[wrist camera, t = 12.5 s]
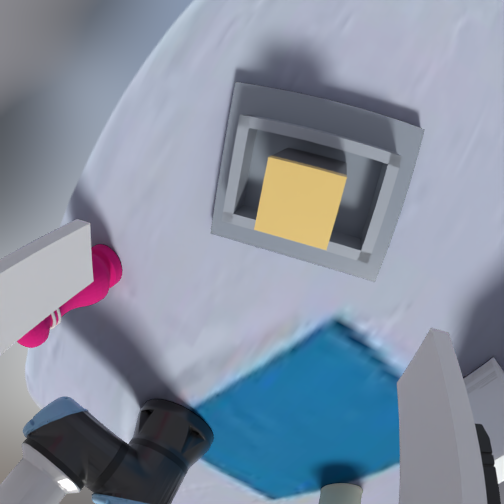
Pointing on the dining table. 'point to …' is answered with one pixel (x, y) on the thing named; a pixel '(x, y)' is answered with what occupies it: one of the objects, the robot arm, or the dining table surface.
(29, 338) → the pepper mill
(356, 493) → the can
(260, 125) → the socket
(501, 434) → the supplement box
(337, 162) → the plug
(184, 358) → the dining table surface
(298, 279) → the dining table surface
